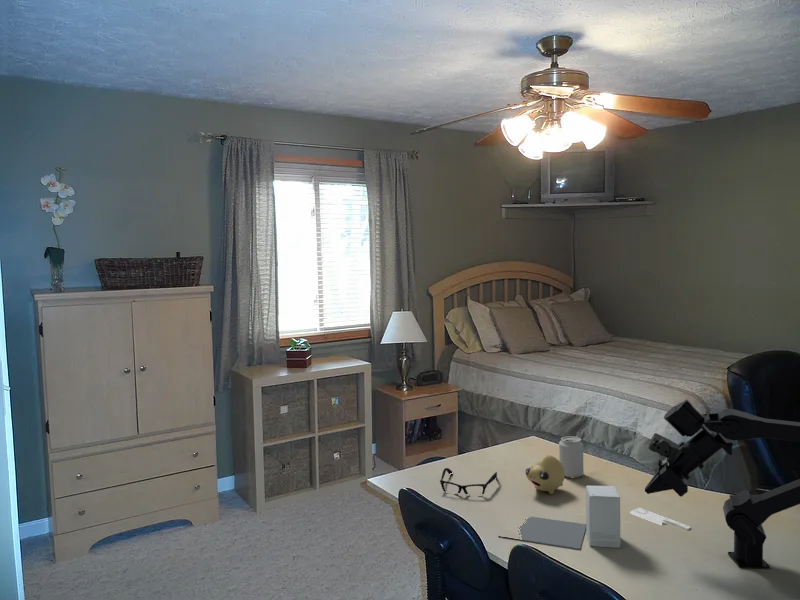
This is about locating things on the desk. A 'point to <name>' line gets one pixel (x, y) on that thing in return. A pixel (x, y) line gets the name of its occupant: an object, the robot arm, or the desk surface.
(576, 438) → the can
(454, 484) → the glasses
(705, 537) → the desk surface
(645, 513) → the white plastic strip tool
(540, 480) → the beige rounded figure
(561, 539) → the mat
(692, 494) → the desk surface
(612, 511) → the supplement box
